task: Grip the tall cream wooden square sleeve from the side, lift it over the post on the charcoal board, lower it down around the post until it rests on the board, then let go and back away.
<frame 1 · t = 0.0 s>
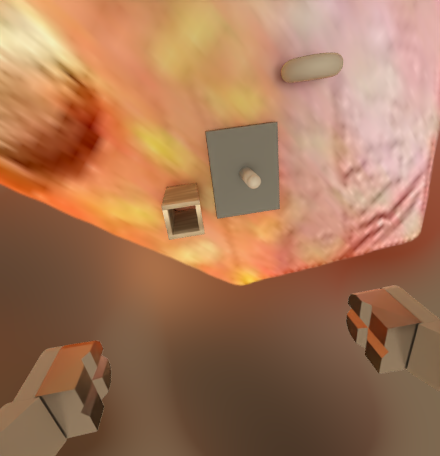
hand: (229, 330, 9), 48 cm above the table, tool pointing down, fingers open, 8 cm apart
sleeve: (184, 199, 56), on the table
post board: (244, 171, 55), on the table
donut: (298, 72, 49), on the table
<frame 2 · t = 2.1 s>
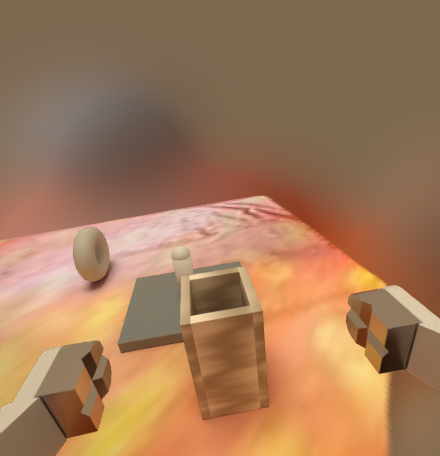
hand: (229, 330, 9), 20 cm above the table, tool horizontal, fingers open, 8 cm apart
sleeve: (230, 381, 28), on the table
post board: (191, 303, 40), on the table
donut: (101, 277, 50), on the table
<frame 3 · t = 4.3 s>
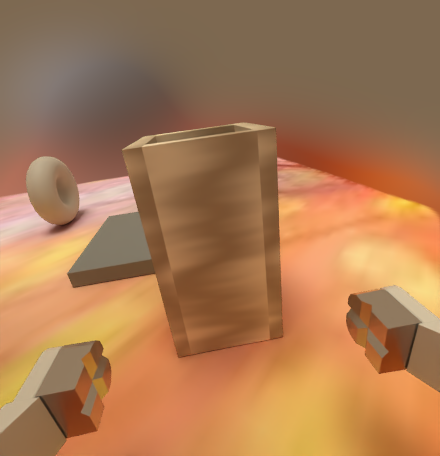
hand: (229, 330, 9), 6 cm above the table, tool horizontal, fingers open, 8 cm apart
sleeve: (223, 310, 19), on the table
post board: (174, 237, 31), on the table
donut: (68, 223, 41), on the table
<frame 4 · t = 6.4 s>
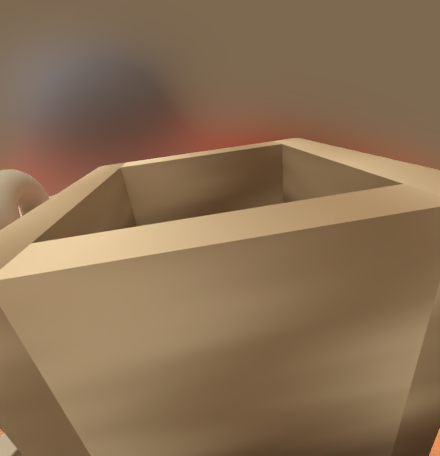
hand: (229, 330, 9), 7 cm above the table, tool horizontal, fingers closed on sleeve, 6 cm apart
donut: (38, 251, 32), on the table
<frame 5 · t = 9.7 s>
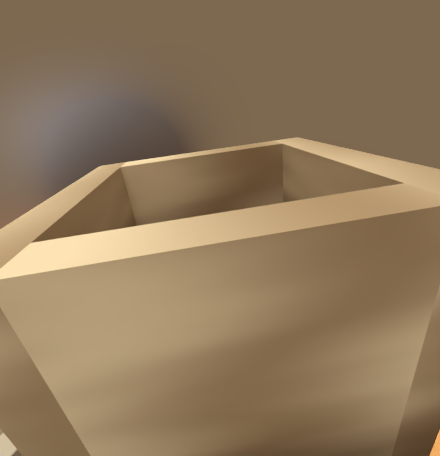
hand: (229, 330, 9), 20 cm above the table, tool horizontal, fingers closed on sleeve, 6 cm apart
when the fingers open (10 cm above the table, at t = 13.1 s): sleeve drops 2 cm, resting on post board.
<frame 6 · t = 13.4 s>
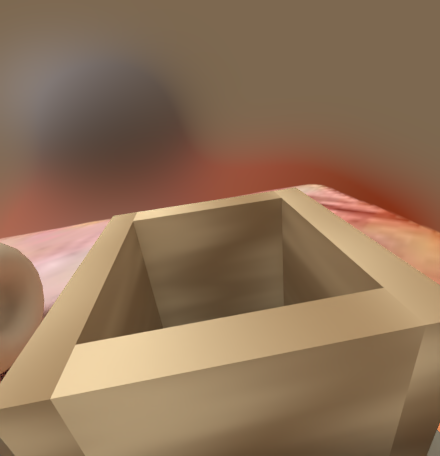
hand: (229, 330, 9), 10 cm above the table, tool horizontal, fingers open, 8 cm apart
donut: (20, 355, 22), on the table
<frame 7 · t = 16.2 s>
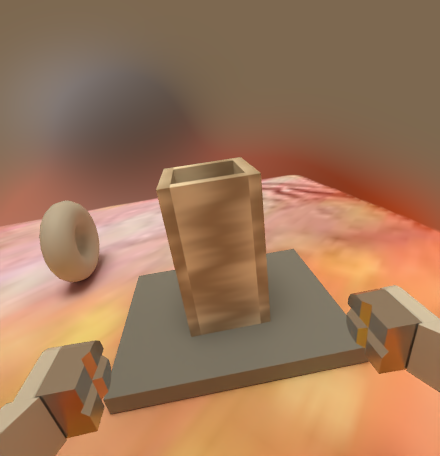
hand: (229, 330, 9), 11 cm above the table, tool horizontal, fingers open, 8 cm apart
sleeve: (225, 302, 24), point 1 cm above the table, touching post board
post board: (228, 315, 24), on the table
donut: (87, 276, 34), on the table
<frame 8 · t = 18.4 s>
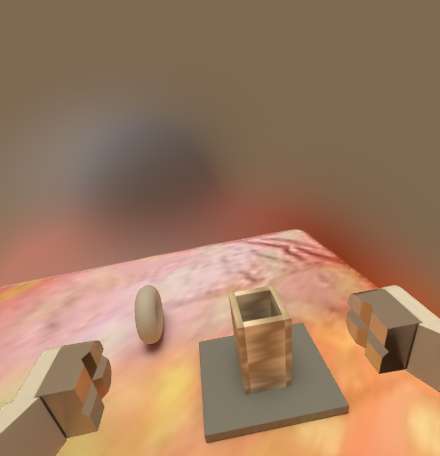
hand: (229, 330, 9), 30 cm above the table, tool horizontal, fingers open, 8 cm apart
sleeve: (262, 369, 38), point 1 cm above the table, touching post board
post board: (263, 375, 39), on the table
donut: (156, 335, 49), on the table
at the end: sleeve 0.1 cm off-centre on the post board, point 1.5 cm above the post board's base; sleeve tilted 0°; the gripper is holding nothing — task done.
